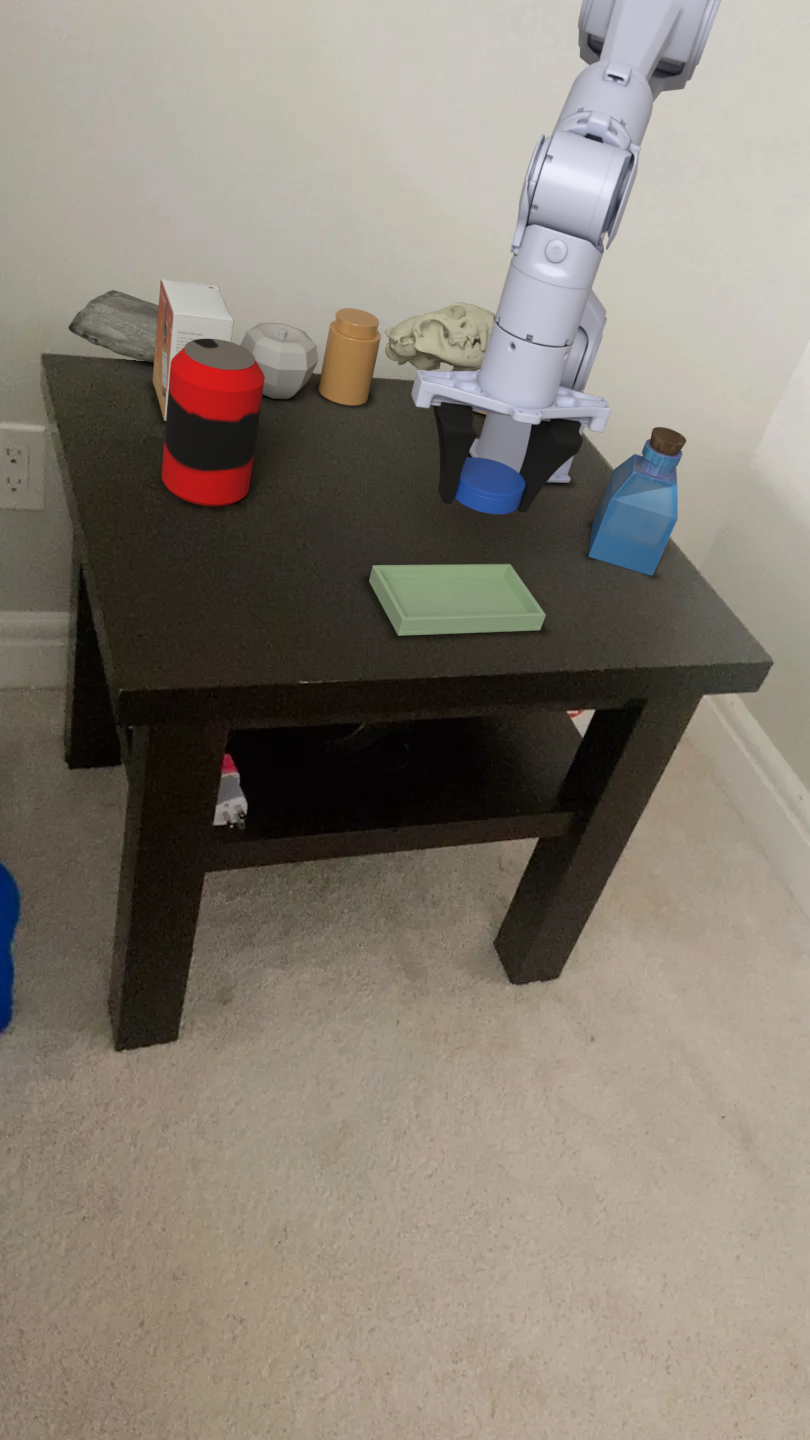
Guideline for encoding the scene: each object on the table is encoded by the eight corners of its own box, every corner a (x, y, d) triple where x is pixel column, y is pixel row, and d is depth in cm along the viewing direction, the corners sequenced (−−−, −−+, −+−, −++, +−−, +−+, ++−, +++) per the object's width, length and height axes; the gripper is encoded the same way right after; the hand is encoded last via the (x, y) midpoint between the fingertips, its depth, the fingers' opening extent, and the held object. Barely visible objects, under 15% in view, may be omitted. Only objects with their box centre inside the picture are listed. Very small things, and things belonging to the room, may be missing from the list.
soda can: (216, 457, 96) (231, 329, 88) (265, 498, 93) (285, 369, 85) (144, 471, 91) (153, 338, 84) (193, 515, 88) (207, 380, 80)
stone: (243, 358, 113) (118, 321, 115) (246, 320, 111) (119, 284, 113) (196, 386, 104) (63, 347, 107) (198, 347, 102) (62, 307, 104)
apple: (327, 401, 110) (338, 340, 105) (272, 415, 104) (281, 352, 100) (275, 369, 113) (284, 308, 109) (219, 381, 108) (226, 318, 103)
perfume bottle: (652, 575, 98) (703, 460, 90) (588, 556, 98) (634, 439, 90) (652, 544, 102) (702, 432, 95) (592, 525, 102) (636, 412, 95)
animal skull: (366, 377, 118) (370, 309, 118) (417, 400, 125) (421, 335, 125) (471, 350, 108) (475, 275, 108) (520, 376, 115) (525, 306, 115)
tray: (505, 579, 91) (510, 563, 90) (540, 630, 87) (546, 614, 86) (368, 581, 86) (372, 565, 85) (397, 635, 82) (402, 619, 81)
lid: (444, 503, 78) (449, 482, 77) (450, 469, 83) (455, 450, 82) (518, 521, 79) (524, 501, 78) (520, 487, 83) (526, 468, 82)
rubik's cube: (521, 424, 116) (536, 377, 113) (473, 411, 116) (487, 363, 113) (524, 405, 121) (538, 359, 117) (478, 392, 120) (491, 346, 117)
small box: (151, 383, 104) (159, 276, 98) (208, 387, 106) (219, 283, 100) (162, 422, 99) (171, 312, 92) (221, 426, 101) (234, 318, 94)
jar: (356, 382, 115) (371, 307, 110) (375, 406, 112) (392, 329, 107) (311, 381, 113) (324, 304, 108) (329, 405, 110) (343, 326, 104)
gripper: (446, 337, 67) (400, 519, 76) (648, 369, 71) (582, 538, 80) (425, 295, 73) (385, 470, 81) (615, 327, 77) (557, 491, 85)
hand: (481, 501), depth 81 cm, fingers closed on lid, 5 cm apart
